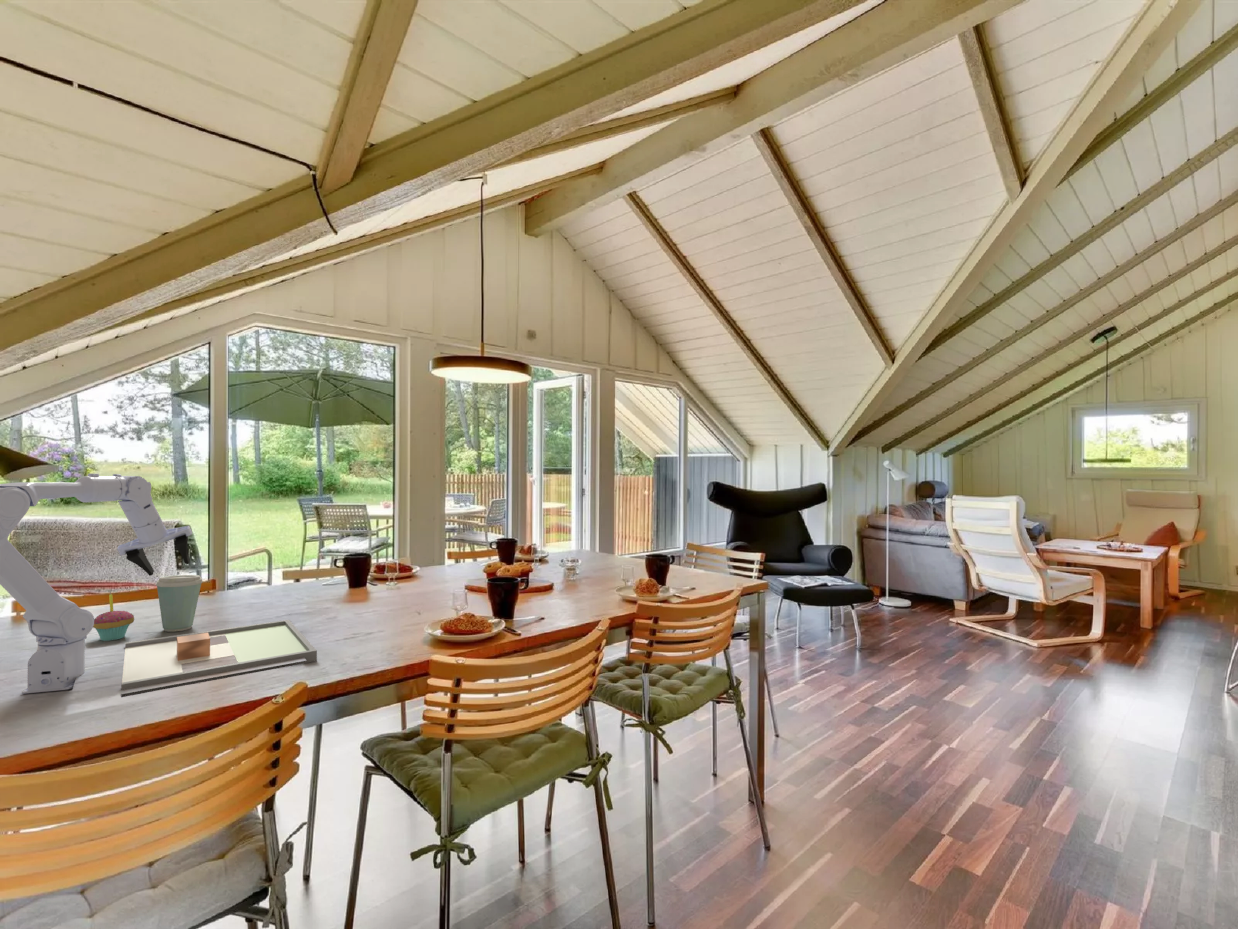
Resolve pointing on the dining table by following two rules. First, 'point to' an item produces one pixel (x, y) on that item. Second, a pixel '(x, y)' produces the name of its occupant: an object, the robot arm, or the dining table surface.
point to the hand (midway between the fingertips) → (170, 567)
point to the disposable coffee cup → (178, 600)
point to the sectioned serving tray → (214, 654)
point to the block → (193, 646)
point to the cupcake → (112, 623)
